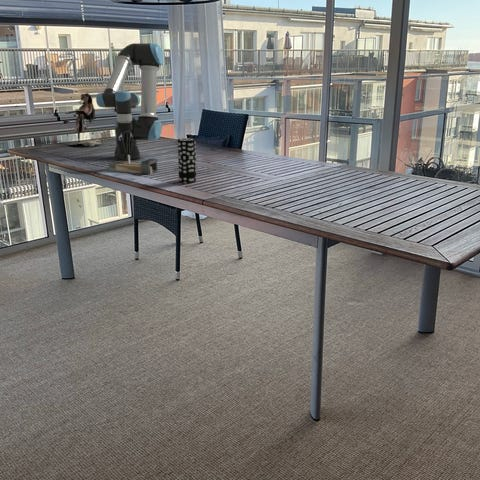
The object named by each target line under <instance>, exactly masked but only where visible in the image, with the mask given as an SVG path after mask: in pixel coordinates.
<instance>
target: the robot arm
mask: <svg viewBox="0 0 480 480" xmlns="http://www.w3.org/2000/svg"><path fill="white" fill-rule="evenodd" d="M163 64H164V54H163V50H162V48H161V46H160V45H159V44H158V43H152V42H151V43H149V42H147V43H145V42H143V43H130V44H128V45H126V46H125V47H124V48H122V49H121V50H120V51H119V52H118V54H117V56H116V59H115V65H114V67H113V70H112V72H111V74H110V77H109V79H108V81H107V84H106V86H105V89H104V91H103V92H98V93H97V94H96V96H95V97H96V99H95V101H96V104H97V106H98V107H99V108H105V109H107V108H108V109H110V108H111V109H113V108H114V109H115V108H116V120H115V121H114V125H115V126H114V128H115V129H114V130H115V141H116V146H115V150H114V154H113V155H114V156H113V157H114V159H116V160H124V161H123V162H124V163H131V160H136V159H140V158H141V152H140V149H139V147H138V145H137V143H138V142H137V141H149V142H151V141H157V140H159V139H160V137H161V134H162V130H163V129H162V127H163V126H162V125H163V123H162V121H161V120H160V119H159V116H158V115H157V83H158V82H157V81H158V79H157V77H158V75H157V74H158V71H159V70H160V67H161V66H163ZM133 66H138V68H139V69H140V71H141V78H140V79H141V81H140V82H141V83H140V84H141V89H140V90H141V91H140V96H139V95H138V93H134V92H130V90H122V86H124V85H123V84H124V83H125V80H126V78H127V75H128V72H129V71H130V70H131V69H132V68H133ZM138 106H140V114H139V115H138V116H137V119H136V118H135V116H132V109H135V108H136V107H138Z"/></svg>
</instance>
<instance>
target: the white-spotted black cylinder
mask: <svg viewBox="0 0 480 480" xmlns="http://www.w3.org/2000/svg"><path fill="white" fill-rule="evenodd" d="M196 146H197V145H196V139H195V138H191V137H188V138H187V137H186V138H183V137H181V138H178V139H177V156H178V157H177V158H178V159H177V160H178V182H179V183H180V184H194V183H193V182H195V183H196V182H197V152H196V151H197V150H196Z"/></svg>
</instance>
